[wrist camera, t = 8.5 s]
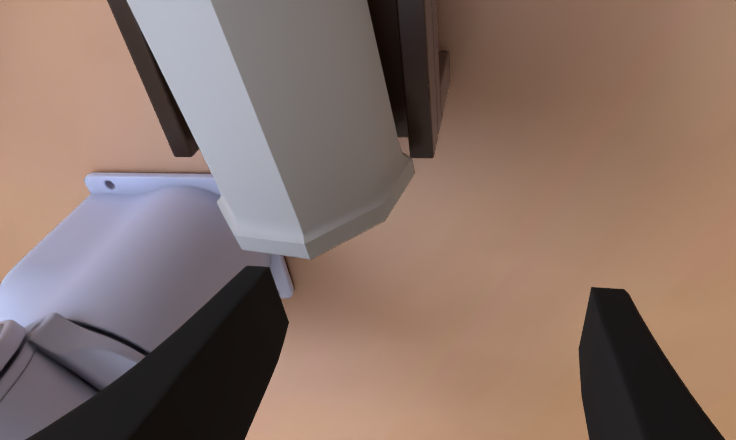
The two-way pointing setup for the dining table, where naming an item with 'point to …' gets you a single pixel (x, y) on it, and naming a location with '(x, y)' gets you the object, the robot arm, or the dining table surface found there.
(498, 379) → the dining table surface
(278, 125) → the grey octagonal prism
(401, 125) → the dark brown tray
